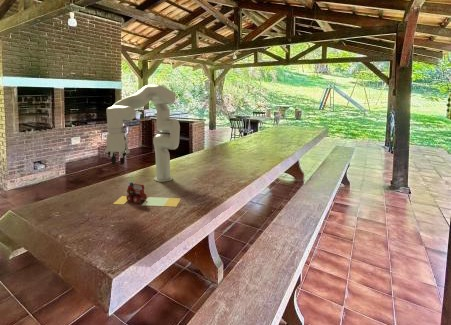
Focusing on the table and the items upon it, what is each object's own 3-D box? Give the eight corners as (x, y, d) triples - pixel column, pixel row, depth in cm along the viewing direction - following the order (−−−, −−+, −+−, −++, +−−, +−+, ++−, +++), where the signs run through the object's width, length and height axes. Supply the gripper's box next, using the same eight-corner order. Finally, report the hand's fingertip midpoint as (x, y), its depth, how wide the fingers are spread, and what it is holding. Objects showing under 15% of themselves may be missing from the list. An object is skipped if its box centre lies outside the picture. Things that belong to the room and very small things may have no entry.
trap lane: (121, 196, 170) (121, 196, 170) (181, 198, 168) (181, 198, 167) (112, 204, 158) (112, 203, 158) (176, 206, 156) (176, 206, 156)
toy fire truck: (133, 196, 169) (131, 179, 166) (149, 200, 163) (147, 183, 161) (123, 200, 163) (122, 183, 161) (140, 204, 157) (138, 186, 155)
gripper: (133, 130, 157) (135, 162, 162) (103, 129, 158) (106, 162, 163) (128, 132, 150) (130, 166, 154) (96, 131, 151) (100, 165, 155)
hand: (118, 163), depth 158 cm, fingers open, 3 cm apart
